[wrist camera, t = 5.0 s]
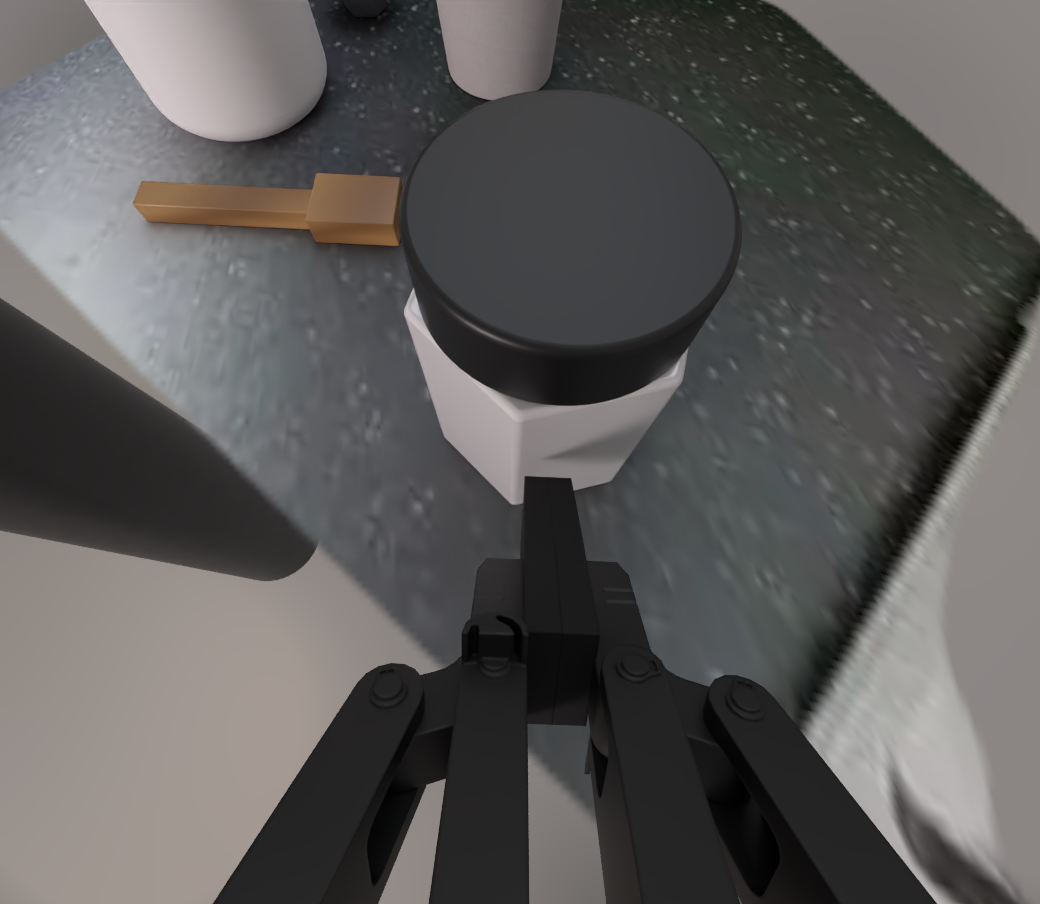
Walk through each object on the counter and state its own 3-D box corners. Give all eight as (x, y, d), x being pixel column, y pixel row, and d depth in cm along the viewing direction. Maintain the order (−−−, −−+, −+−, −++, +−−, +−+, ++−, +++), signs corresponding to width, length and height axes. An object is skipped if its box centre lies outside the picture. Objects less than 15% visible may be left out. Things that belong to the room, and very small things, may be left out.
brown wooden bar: (143, 234, 26) (121, 211, 24) (160, 188, 27) (141, 163, 25) (399, 246, 26) (393, 224, 24) (406, 200, 27) (400, 176, 25)
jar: (603, 322, 24) (686, 61, 13) (659, 473, 22) (822, 307, 11) (426, 359, 23) (353, 110, 12) (462, 522, 21) (411, 396, 10)
